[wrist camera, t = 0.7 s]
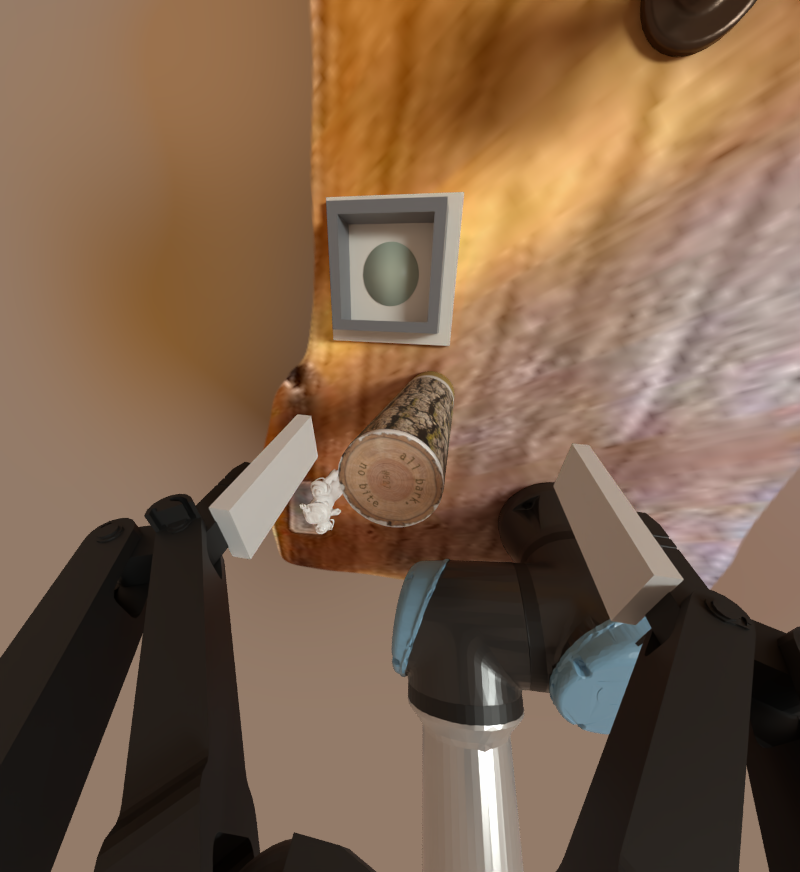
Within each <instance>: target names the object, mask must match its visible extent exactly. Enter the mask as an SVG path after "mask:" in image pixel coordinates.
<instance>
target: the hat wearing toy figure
mask: <svg viewBox="0 0 800 872" xmlns="http://www.w3.org/2000/svg"><path fill="white" fill-rule="evenodd" d="M318 479H323V481H316V480H318ZM318 479H316V480H315V481H313V482H312V483H311V486H310V489H311V490H312V495H313V496H314V500H312V501H311V503H310V504H308V505H305V504H304V507H303V503H302V505H301V504H300V508H301V507H302V509H303V514H304V518H305V519H306V521H307V522H308V523H309V524H316V525H314V527H315V530H316V532H317V533H318V534H324V533H325V532H326V531H327V530H332V528H333V526H332V523H331V522H330V521H329V519H330V516H332V515H339V514H340V513H341V510H339V508H338V509H333V508H332V507H333V505H334V502H335V501H336V500H337V499H338V498H339V497H340V496H341V495H342V494H343V493H342V490H341V488H340V484H339V479H338V470H333V471H331V473H330V474H329V476H327V477H326V478H323V477H322V478H318ZM312 486H313V488H312ZM330 520H332V521H333V525H334V519H330ZM330 528H331V529H330Z"/></svg>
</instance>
